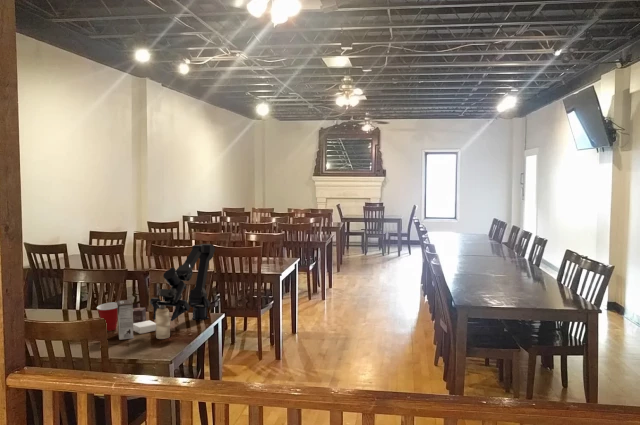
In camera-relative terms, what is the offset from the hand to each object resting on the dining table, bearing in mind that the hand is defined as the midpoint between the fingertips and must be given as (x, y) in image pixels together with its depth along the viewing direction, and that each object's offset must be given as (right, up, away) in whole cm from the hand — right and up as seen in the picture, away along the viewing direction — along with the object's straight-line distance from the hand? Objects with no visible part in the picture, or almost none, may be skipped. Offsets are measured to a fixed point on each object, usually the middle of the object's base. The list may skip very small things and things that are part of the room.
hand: (162, 320), depth 242 cm
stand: (-12, -7, +12) cm, 19 cm away
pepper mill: (0, -8, 0) cm, 8 cm away
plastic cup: (-30, -8, +14) cm, 34 cm away
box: (-19, -7, +25) cm, 32 cm away
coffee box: (-17, -8, +2) cm, 19 cm away
